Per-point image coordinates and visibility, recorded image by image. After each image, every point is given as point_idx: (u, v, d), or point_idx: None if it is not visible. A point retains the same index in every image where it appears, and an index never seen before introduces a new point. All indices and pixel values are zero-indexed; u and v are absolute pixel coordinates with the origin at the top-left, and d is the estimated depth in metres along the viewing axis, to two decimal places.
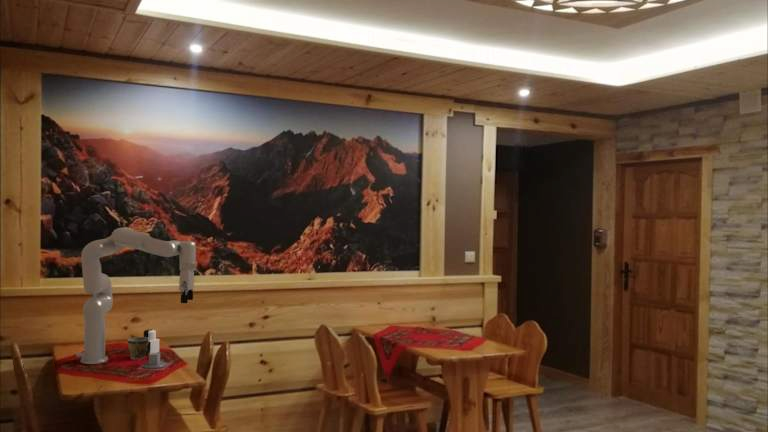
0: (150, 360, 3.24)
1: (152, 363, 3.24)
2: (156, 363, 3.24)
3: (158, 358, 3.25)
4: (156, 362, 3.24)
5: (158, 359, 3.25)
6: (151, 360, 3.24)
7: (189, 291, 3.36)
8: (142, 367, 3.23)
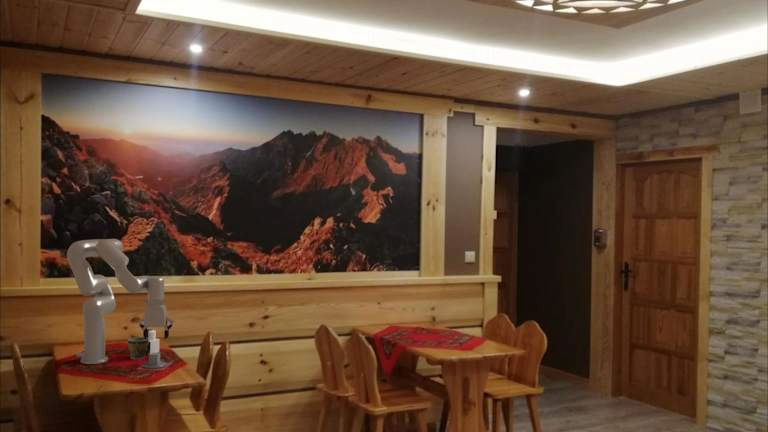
0: (150, 360, 3.24)
1: (152, 363, 3.24)
2: (156, 363, 3.24)
3: (158, 358, 3.25)
4: (156, 362, 3.24)
5: (158, 359, 3.25)
6: (151, 360, 3.24)
7: (146, 329, 3.25)
8: (142, 367, 3.23)
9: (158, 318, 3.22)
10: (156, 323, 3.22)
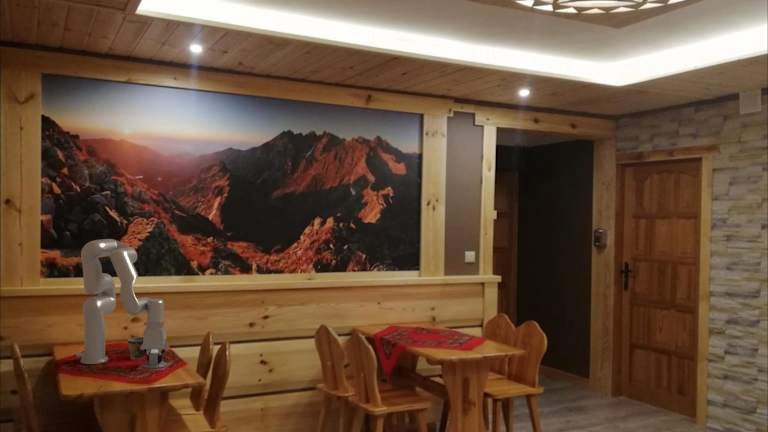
0: (150, 360, 3.24)
1: (152, 363, 3.24)
2: (156, 363, 3.24)
3: None
4: (156, 362, 3.24)
5: None
6: (151, 360, 3.24)
7: (150, 353, 3.26)
8: (142, 367, 3.23)
9: (157, 341, 3.23)
10: (155, 345, 3.23)
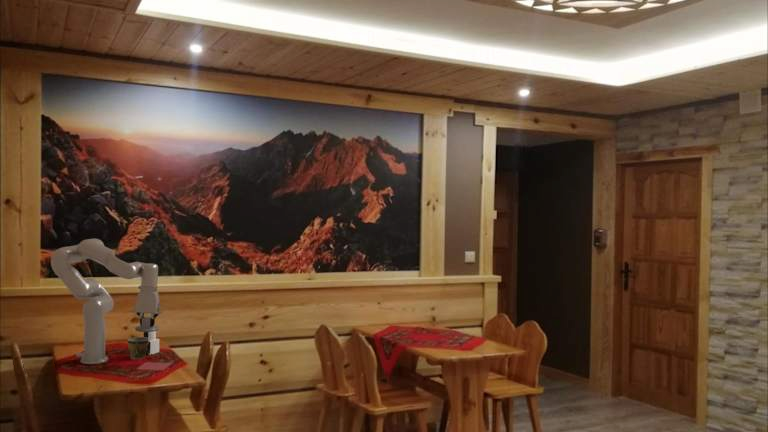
0: (143, 323, 3.29)
1: (144, 326, 3.29)
2: (148, 326, 3.29)
3: None
4: (148, 325, 3.29)
5: None
6: (144, 323, 3.28)
7: (143, 316, 3.30)
8: (142, 367, 3.23)
9: (150, 304, 3.27)
10: (148, 309, 3.27)
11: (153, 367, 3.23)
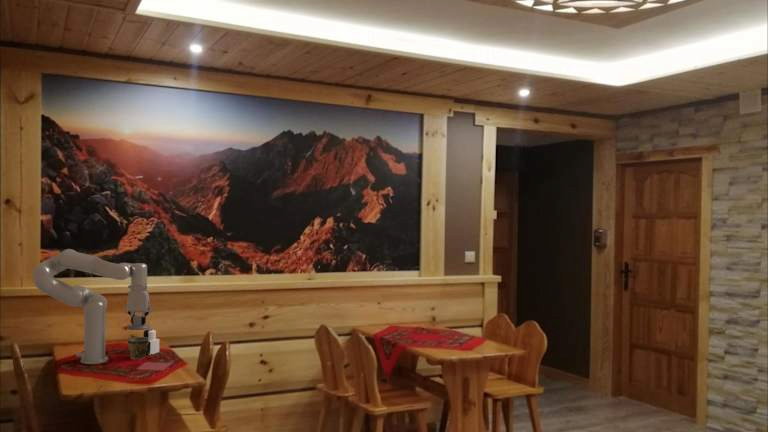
0: (134, 322, 3.37)
1: (136, 325, 3.37)
2: (140, 325, 3.37)
3: None
4: (140, 324, 3.37)
5: None
6: (135, 322, 3.37)
7: (134, 315, 3.38)
8: (142, 367, 3.23)
9: (140, 303, 3.35)
10: (138, 308, 3.35)
11: (153, 367, 3.23)
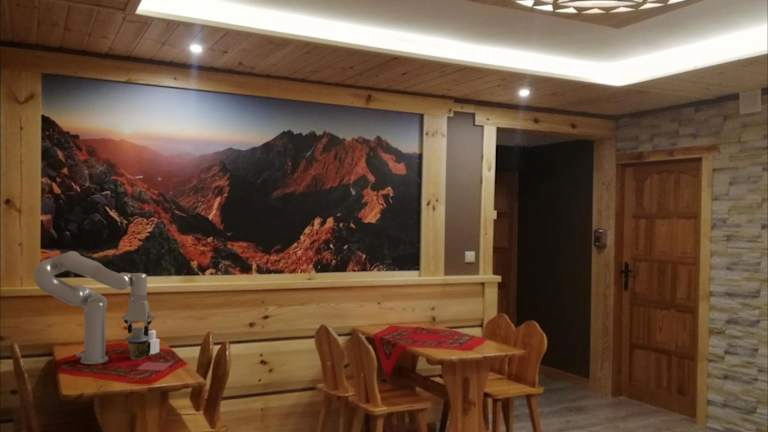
0: (133, 334, 3.37)
1: (135, 337, 3.37)
2: (139, 337, 3.37)
3: (141, 332, 3.38)
4: (139, 336, 3.37)
5: (141, 333, 3.38)
6: (134, 334, 3.37)
7: (130, 324, 3.38)
8: (142, 367, 3.23)
9: (140, 313, 3.35)
10: (138, 318, 3.36)
11: (153, 367, 3.23)
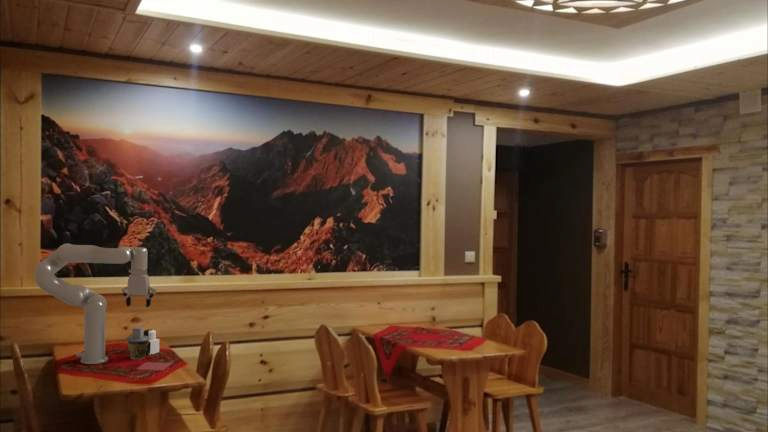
0: (133, 334, 3.37)
1: (135, 337, 3.37)
2: (139, 337, 3.37)
3: (141, 332, 3.38)
4: (139, 336, 3.37)
5: (141, 333, 3.38)
6: (134, 334, 3.37)
7: (129, 297, 3.39)
8: (142, 367, 3.23)
9: (140, 287, 3.36)
10: (138, 292, 3.36)
11: (153, 367, 3.23)
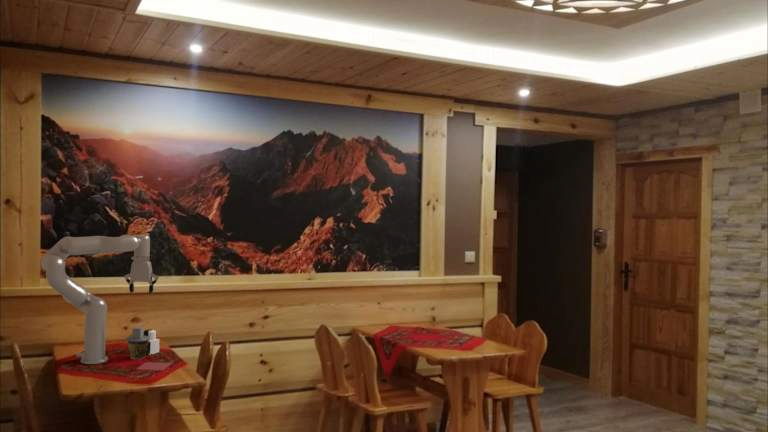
0: (133, 334, 3.37)
1: (135, 337, 3.37)
2: (139, 337, 3.37)
3: (141, 332, 3.38)
4: (139, 336, 3.37)
5: (141, 333, 3.38)
6: (134, 334, 3.37)
7: (132, 284, 3.47)
8: (142, 367, 3.23)
9: (143, 273, 3.44)
10: (141, 278, 3.44)
11: (153, 367, 3.23)
